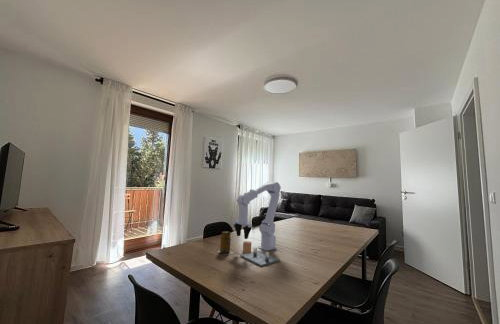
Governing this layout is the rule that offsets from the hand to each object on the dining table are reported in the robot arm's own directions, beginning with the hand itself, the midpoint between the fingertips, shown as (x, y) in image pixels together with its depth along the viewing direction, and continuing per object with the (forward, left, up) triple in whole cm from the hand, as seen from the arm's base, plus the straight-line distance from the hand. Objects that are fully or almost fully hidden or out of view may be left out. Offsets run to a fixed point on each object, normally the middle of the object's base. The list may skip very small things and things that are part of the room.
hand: (242, 237), depth 130 cm
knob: (-5, -1, -10) cm, 11 cm away
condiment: (+7, -7, -10) cm, 14 cm away
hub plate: (-3, +13, -10) cm, 16 cm away
